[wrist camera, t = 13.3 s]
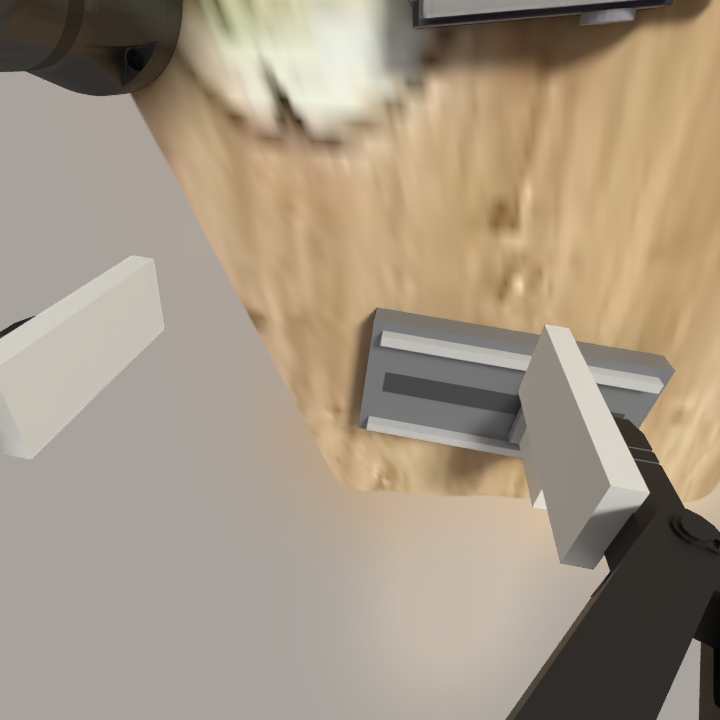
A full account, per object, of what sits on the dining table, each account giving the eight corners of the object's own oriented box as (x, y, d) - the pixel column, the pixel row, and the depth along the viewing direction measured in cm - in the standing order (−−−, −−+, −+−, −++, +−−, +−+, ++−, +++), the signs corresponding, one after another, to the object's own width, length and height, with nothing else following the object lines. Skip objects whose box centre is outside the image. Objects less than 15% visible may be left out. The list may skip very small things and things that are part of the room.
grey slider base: (361, 413, 52) (356, 434, 49) (377, 307, 45) (372, 325, 42) (602, 457, 51) (613, 482, 48) (663, 356, 43) (681, 378, 40)
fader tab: (508, 435, 48) (521, 504, 40) (533, 376, 43) (553, 441, 36) (565, 446, 47) (588, 517, 40) (596, 387, 43) (629, 455, 35)
